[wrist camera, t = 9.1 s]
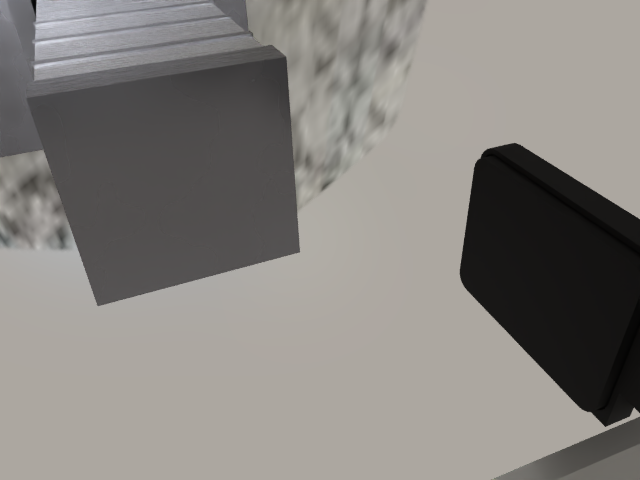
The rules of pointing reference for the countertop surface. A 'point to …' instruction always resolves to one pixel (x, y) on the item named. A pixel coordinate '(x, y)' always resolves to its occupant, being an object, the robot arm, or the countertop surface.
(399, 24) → the countertop surface
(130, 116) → the post
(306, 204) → the countertop surface
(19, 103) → the stand
